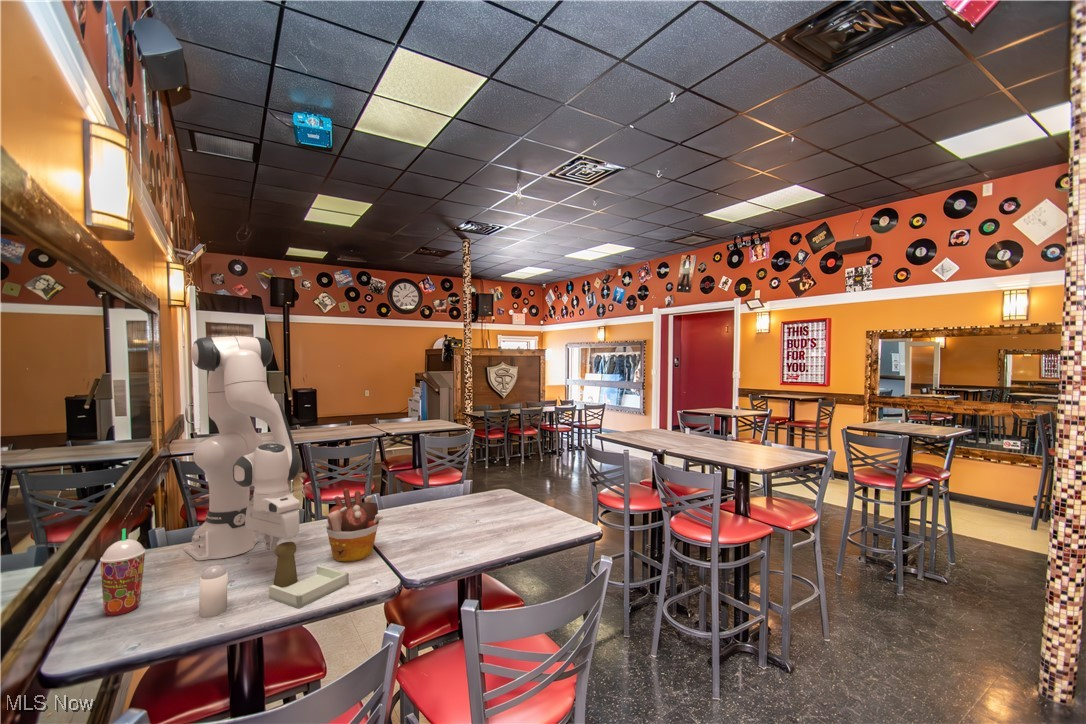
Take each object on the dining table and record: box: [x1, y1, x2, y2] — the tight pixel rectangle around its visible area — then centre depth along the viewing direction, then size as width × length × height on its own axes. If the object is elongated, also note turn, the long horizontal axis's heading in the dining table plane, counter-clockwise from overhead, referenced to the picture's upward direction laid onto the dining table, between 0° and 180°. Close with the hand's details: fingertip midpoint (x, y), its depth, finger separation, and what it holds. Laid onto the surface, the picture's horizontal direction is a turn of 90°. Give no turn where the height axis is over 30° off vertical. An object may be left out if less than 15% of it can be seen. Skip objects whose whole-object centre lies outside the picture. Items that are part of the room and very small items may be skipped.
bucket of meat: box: [326, 487, 384, 563], centre depth 148 cm, size 20×16×20 cm
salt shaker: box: [198, 564, 229, 619], centre depth 113 cm, size 6×6×11 cm
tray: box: [268, 564, 350, 609], centre depth 124 cm, size 12×15×3 cm
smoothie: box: [99, 528, 146, 617], centre depth 114 cm, size 8×8×20 cm
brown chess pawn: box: [272, 541, 299, 588], centre depth 129 cm, size 6×6×11 cm
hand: (270, 549), depth 132 cm, fingers closed
